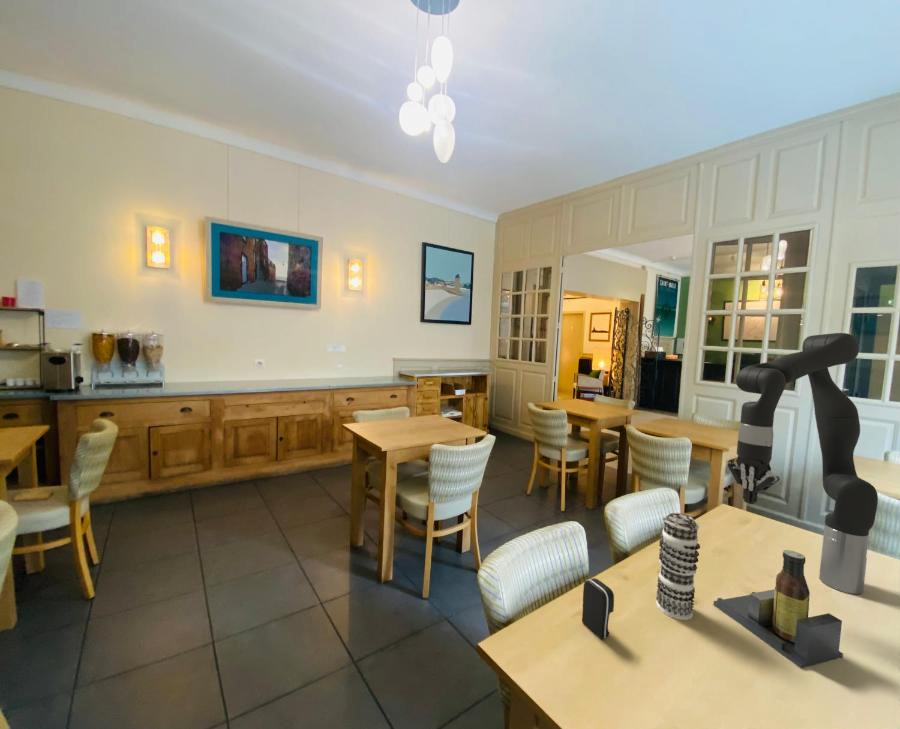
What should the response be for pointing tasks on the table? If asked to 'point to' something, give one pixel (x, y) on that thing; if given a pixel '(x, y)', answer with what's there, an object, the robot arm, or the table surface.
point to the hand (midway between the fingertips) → (749, 502)
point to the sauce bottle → (790, 596)
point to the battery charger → (597, 606)
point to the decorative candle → (677, 566)
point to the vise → (811, 641)
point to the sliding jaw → (762, 607)
